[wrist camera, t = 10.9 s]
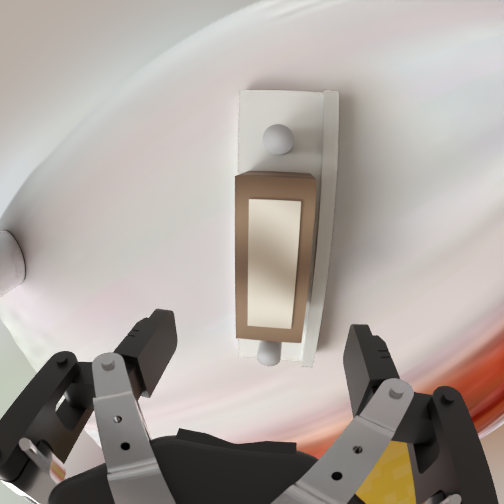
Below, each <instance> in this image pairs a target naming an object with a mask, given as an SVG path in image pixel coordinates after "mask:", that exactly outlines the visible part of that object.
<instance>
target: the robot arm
mask: <svg viewBox="0 0 504 504" xmlns="http://www.w3.org/2000/svg"><path fill="white" fill-rule="evenodd" d="M24 278H25V265H24V259H23V256H22V253H21V250H20V248H19V246H18V243H17V242H16V240H15V238H14V237H13V236H12V235H11V234H10V233H9V232H7V231H1V232H0V297H1V296H3V295H4V294H6V293H7V292H9V291H10V290H12V289H13V288H15V287H17V286H18V285H20V284H21V283H22V282H23V281H24ZM176 347H177V333H176V326H175V319H174V313H173V311H170V310H163V309H156V310H155V311H154V312H153V313H152V315H151V316H150V317H149V318H144V319H142V320H141V321H139V322H137V323H136V325H135V326H134V327H133V328H132V330H131V331H130V332H129V333H128V336H126V337H125V338H124V339H123V341H122V342H121V343H120V344H119V346H118V347H117V348H116V349H115V351H114V352H113V353H104V354H101V355H99V356H98V357H96V358H95V359H94V361H93V362H78V361H77V358H76V356H75V354H74V353H72V352H69V351H62V352H58V353H56V354H54V355H53V356H52V357H51V358H50V359H49V360H48V361H47V363H46V364H45V365H44V366H43V367H42V368H41V370H40V371H39V372H38V373H37V374H36V375H35V377H34V378H33V379H32V380H31V381H30V383H29V384H28V385H27V386H26V388H25V389H24V390H23V391H22V392H21V394H20V395H19V396H18V398H17V399H16V400H15V401H14V403H13V404H12V405H11V406H10V408H9V409H8V410H7V412H6V413H5V414H4V416H3V417H2V418H1V420H0V480H1V481H3V482H4V483H5V484H6V485H7V486H8V487H10V488H11V489H12V490H13V491H15V492H16V493H17V494H20V495H21V496H22V497H24V498H25V499H26V500H28V501H29V502H31V503H34V504H366V503H365V502H364V501H363V500H362V499H361V498H359V497H358V496H357V495H356V494H355V493H356V491H357V490H358V489H359V487H360V486H361V485H362V483H363V482H364V480H365V479H366V478H367V476H368V475H369V473H370V472H371V471H372V469H373V468H374V466H375V465H376V463H377V462H378V460H379V458H380V457H381V455H382V454H383V452H384V451H385V449H386V447H387V446H388V444H389V442H390V441H398V442H405V443H407V447H408V453H409V458H410V464H411V470H412V476H413V483H414V490H415V497H416V504H498V499H497V495H496V491H495V487H494V483H493V480H492V476H491V473H490V470H489V466H488V464H487V460H486V457H485V454H484V451H483V448H482V445H481V443H480V440H479V437H478V434H477V432H476V429H475V426H474V424H473V421H472V419H471V416H470V414H469V412H468V409H467V407H466V405H465V402H464V400H463V398H462V396H461V394H460V393H459V392H458V391H457V390H456V389H454V388H452V387H449V386H441V387H438V388H437V389H436V390H435V391H434V392H433V394H432V395H428V394H421V393H416V392H414V391H413V388H412V386H411V385H410V384H409V383H407V382H406V381H404V380H401V379H400V377H399V375H398V372H397V370H396V367H395V365H394V362H393V360H392V358H391V355H390V353H389V352H388V348H387V346H386V343H385V342H384V341H383V340H382V339H381V338H380V337H379V336H378V335H377V336H372V333H371V331H370V328H369V326H368V325H358V324H352V325H351V326H350V329H349V334H348V338H347V342H346V346H345V350H344V356H343V364H344V369H345V374H346V379H347V385H348V390H349V395H350V401H351V407H352V412H353V418H354V419H353V420H352V421H351V423H350V424H349V425H348V426H347V428H346V429H345V430H344V431H343V433H342V434H341V435H340V436H339V437H338V439H337V440H336V441H335V442H334V443H333V444H332V446H331V447H330V448H329V449H328V450H327V451H326V452H325V453H324V455H323V456H322V457H321V458H320V459H317V458H315V457H314V456H311V455H309V454H307V453H304V452H301V451H297V450H296V443H293V442H273V441H264V442H255V443H244V444H233V443H230V442H227V441H225V440H222V439H219V438H217V437H214V436H211V435H209V434H206V433H201V432H195V431H190V430H185V429H181V428H179V430H178V433H177V435H176V436H174V435H173V436H164V437H159V438H155V439H153V440H152V438H151V436H150V433H149V431H148V428H147V425H146V423H145V420H144V417H143V414H142V411H141V408H140V405H139V403H138V399H139V398H140V396H143V397H147V398H150V397H151V395H152V393H153V391H154V389H155V387H156V385H157V383H158V382H159V380H160V378H161V376H162V374H163V372H164V370H165V369H166V367H167V365H168V363H169V361H170V359H171V358H172V356H173V354H174V352H175V350H176ZM63 394H64V396H65V399H64V401H63V402H62V404H61V405H60V407H59V408H58V410H57V411H55V409H56V404H57V403H58V401H59V400H60V399H61V397H62V396H63ZM93 411H95V417H96V422H97V427H98V432H99V437H100V442H101V446H102V450H103V454H104V458H105V463H103V464H101V465H99V466H97V467H95V468H92V469H90V470H87V471H85V472H83V473H80V474H78V475H76V476H73V477H71V478H68V479H66V478H65V473H66V471H65V467H64V463H65V461H66V459H67V457H68V455H69V453H70V452H71V450H72V448H73V446H74V444H75V442H76V441H77V439H78V437H79V435H80V433H81V431H82V430H83V428H84V426H85V425H86V423H87V421H88V419H89V418H90V416H91V414H92V412H93Z"/></svg>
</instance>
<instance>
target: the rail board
mask: <svg viewBox="0 0 504 504" xmlns="http://www.w3.org/2000/svg"><path fill="white" fill-rule="evenodd" d="M338 139H339V91H329V90H324V91H323V93H321V92H308V91H288V90H239V119H238V175H239V174H242V173H244V172H247V171H278V172H298V173H311V174H312V175H313V176H314V177H315V178H316V179H317V184H316V202H315V217H314V230H313V243H312V254H311V265H310V275H309V284H308V294H307V302H306V311H305V319H304V326H303V334H302V341H301V343H288V342H274V341H261V340H250V339H240V338H238V356H244V357H254V358H257V360H258V361H259V363H261V364H262V365H265V366H274V365H276V364H278V363H279V362H280V360H293V361H301V367H311V368H313V364H314V359H315V353H316V348H317V342H318V337H319V331H320V325H321V319H322V312H323V306H324V299H325V292H326V285H327V277H328V270H329V261H330V253H331V243H332V234H333V223H334V211H335V199H336V184H337V166H338Z"/></svg>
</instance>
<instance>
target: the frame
mask: <svg viewBox="0 0 504 504" xmlns="http://www.w3.org/2000/svg"><path fill="white" fill-rule="evenodd" d="M316 184H317V179H316V178H315V177H314V176H313V175H312V174H311V173H298V172H278V171H247V172H244V173H242V174H239V175H237V176H235V302H236V338H240V339H250V340H261V341H274V342H288V343H301V341H302V334H303V326H304V319H305V311H306V302H307V294H308V284H309V275H310V265H311V254H312V243H313V230H314V217H315V202H316Z"/></svg>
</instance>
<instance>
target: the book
mask: <svg viewBox="0 0 504 504" xmlns="http://www.w3.org/2000/svg"><path fill="white" fill-rule="evenodd" d="M355 494H356V495H357V496H358V497H359V498H361V499H362V500H363V501H364V502H365V503H366V504H416V497H415V490H414V483H413V476H412V470H411V464H410V458H409V453H408V447H407V443H405V442H398V441H390V442H389V444H388V446H387V447H386V449H385V451H384V452H383V454H382V455H381V457H380V458H379V460H378V462H377V463H376V465H375V466H374V468H373V469H372V471H371V472H370V473H369V475H368V476H367V478H366V479H365V480H364V482H363V483H362V485H361V486H360V487H359V489H358V490H357V491H356V493H355Z"/></svg>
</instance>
